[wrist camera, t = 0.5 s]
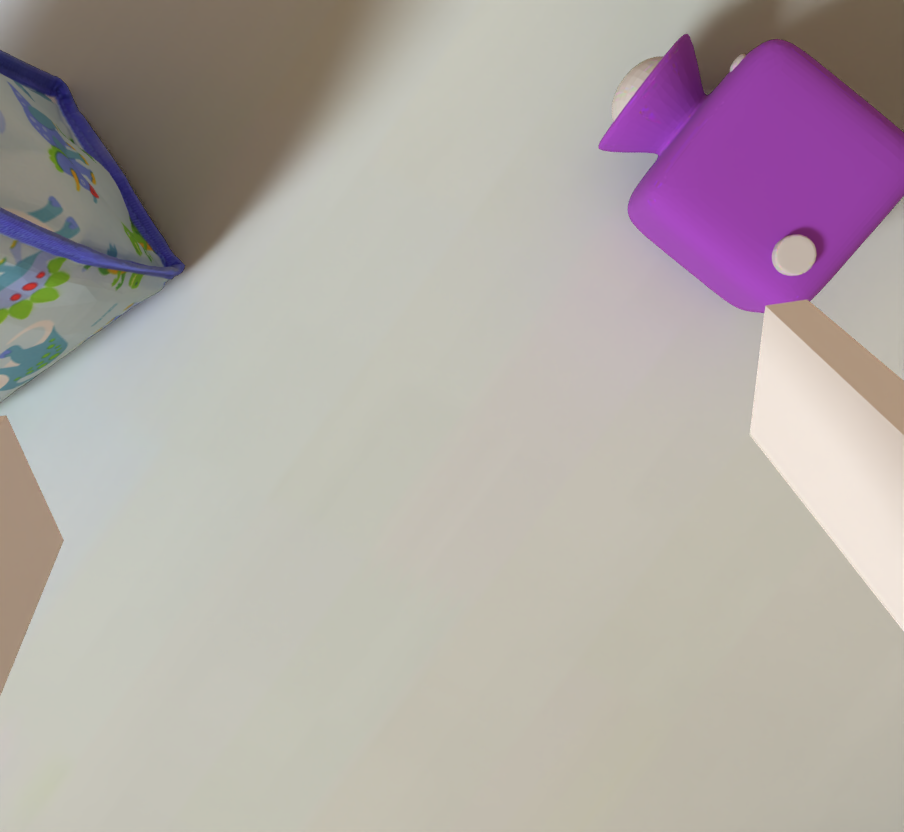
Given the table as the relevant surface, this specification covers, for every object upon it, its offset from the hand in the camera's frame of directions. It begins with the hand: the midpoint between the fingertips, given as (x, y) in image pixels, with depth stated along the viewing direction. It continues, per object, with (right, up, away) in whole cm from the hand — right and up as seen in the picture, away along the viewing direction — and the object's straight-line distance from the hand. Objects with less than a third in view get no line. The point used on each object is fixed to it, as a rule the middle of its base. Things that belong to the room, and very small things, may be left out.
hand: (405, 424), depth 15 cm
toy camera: (+15, +13, +31) cm, 36 cm away
